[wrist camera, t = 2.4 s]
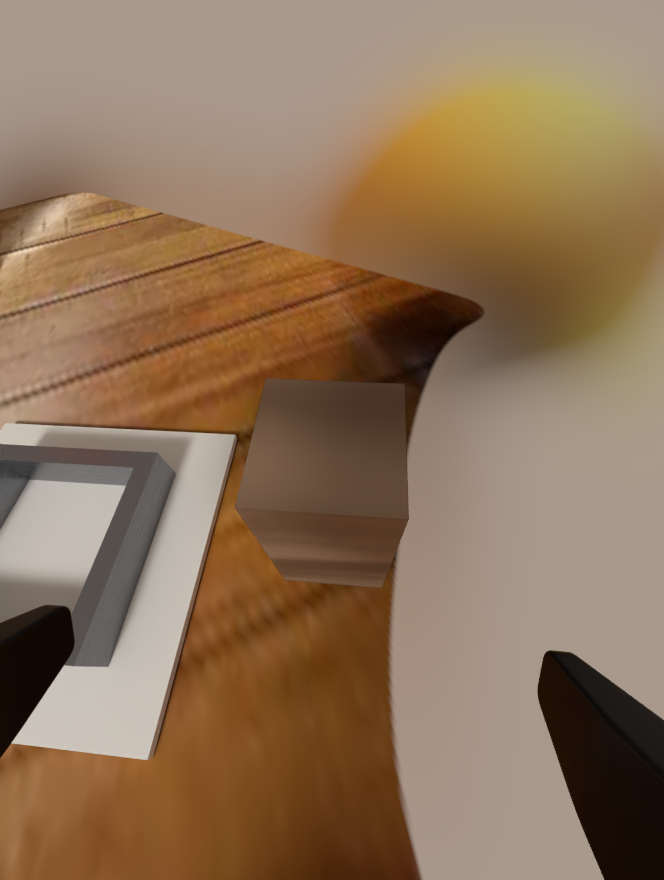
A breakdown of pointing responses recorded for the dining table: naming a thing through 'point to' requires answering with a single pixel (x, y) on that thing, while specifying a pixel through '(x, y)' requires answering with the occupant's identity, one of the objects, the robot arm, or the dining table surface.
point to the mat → (155, 598)
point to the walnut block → (328, 479)
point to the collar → (125, 542)
